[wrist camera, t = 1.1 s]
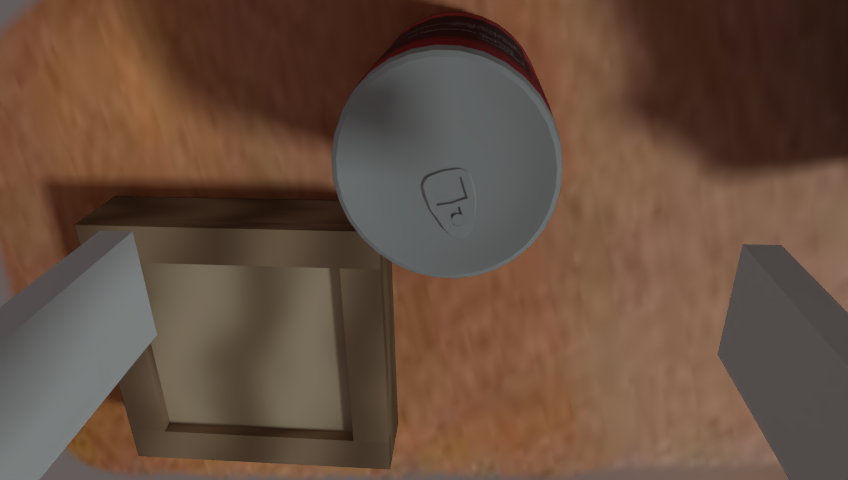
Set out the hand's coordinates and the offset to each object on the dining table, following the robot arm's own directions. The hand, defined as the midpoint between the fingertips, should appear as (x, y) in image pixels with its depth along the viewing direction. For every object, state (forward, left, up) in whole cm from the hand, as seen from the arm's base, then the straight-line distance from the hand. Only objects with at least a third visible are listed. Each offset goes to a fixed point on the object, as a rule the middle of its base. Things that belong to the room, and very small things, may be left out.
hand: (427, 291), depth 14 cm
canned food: (0, 0, -19) cm, 19 cm away
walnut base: (+11, +13, -18) cm, 25 cm away
